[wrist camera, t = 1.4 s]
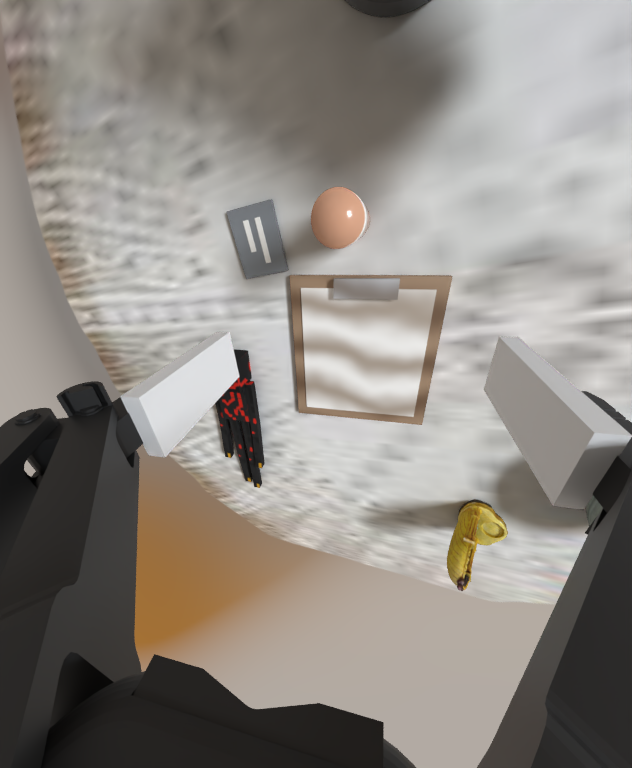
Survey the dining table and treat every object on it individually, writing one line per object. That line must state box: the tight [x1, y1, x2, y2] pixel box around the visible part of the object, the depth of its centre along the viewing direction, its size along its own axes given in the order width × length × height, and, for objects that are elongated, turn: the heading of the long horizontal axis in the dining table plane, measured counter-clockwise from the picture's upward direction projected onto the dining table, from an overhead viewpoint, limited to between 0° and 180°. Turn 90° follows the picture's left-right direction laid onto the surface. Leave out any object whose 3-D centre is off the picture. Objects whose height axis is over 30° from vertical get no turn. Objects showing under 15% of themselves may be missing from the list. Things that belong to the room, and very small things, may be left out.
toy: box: [215, 350, 264, 488], centre depth 51 cm, size 8×5×30 cm
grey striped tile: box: [227, 200, 288, 279], centre depth 36 cm, size 8×6×1 cm
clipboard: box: [290, 275, 452, 425], centre depth 40 cm, size 22×20×2 cm
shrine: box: [447, 500, 508, 591], centre depth 45 cm, size 12×8×15 cm
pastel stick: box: [311, 187, 370, 249], centre depth 27 cm, size 4×4×14 cm
